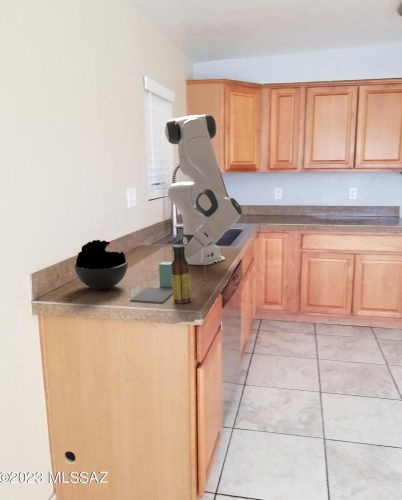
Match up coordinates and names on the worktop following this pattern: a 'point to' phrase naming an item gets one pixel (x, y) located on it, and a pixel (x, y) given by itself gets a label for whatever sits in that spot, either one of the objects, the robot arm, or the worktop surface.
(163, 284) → the teal block
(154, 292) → the rubber mat
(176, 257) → the sauce bottle
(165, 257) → the worktop surface
